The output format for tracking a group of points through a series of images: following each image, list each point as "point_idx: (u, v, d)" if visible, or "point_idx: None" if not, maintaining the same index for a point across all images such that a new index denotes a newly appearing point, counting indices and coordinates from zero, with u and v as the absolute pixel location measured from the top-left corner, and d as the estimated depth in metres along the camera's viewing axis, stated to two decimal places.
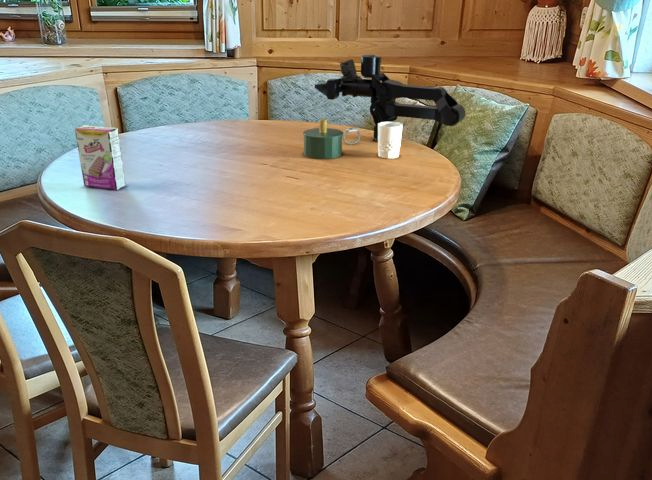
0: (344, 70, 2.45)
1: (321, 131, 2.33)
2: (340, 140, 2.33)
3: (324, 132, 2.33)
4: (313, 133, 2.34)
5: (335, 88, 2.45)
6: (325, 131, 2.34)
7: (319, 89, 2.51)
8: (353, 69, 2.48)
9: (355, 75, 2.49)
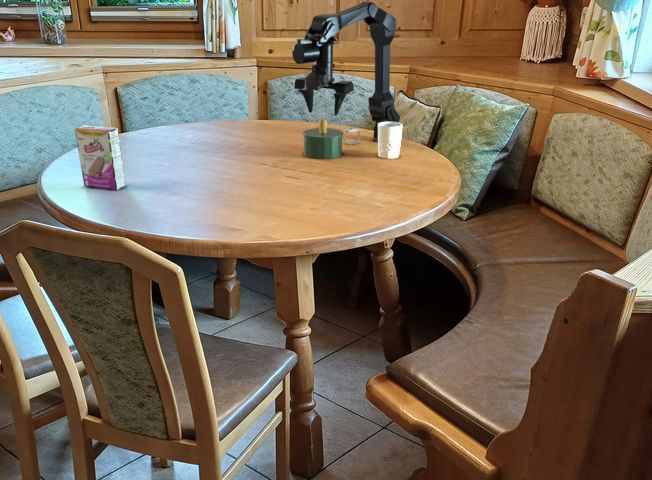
0: (326, 79, 2.20)
1: (321, 131, 2.33)
2: (340, 140, 2.33)
3: (324, 132, 2.33)
4: (313, 133, 2.34)
5: (346, 82, 2.22)
6: (325, 131, 2.34)
7: (339, 107, 2.29)
8: (313, 74, 2.21)
9: (315, 71, 2.22)
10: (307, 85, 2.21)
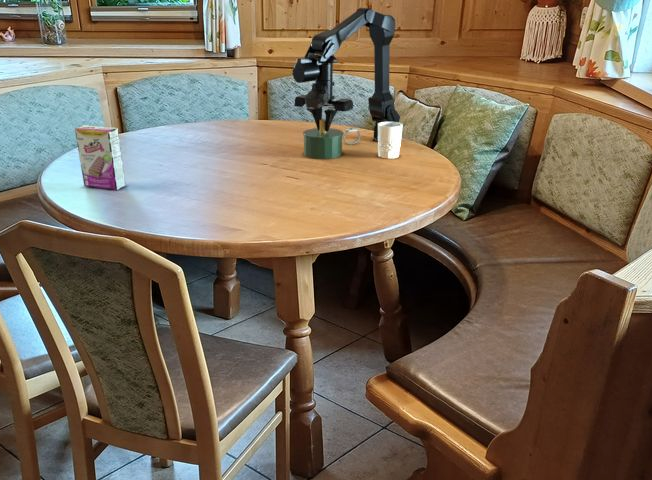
0: (326, 98, 2.22)
1: (321, 131, 2.33)
2: (340, 140, 2.33)
3: (324, 132, 2.33)
4: (313, 133, 2.34)
5: (346, 100, 2.25)
6: (325, 131, 2.34)
7: (330, 123, 2.33)
8: (313, 93, 2.24)
9: (315, 89, 2.25)
10: (307, 103, 2.24)
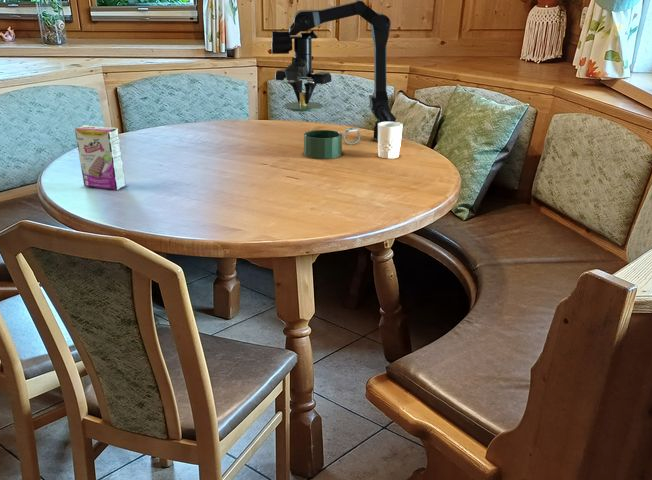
0: (305, 71, 2.34)
1: (301, 104, 2.44)
2: (340, 140, 2.33)
3: (304, 105, 2.45)
4: (294, 106, 2.45)
5: (324, 73, 2.36)
6: (305, 104, 2.45)
7: (310, 96, 2.44)
8: (293, 66, 2.35)
9: (295, 63, 2.36)
10: (287, 76, 2.35)
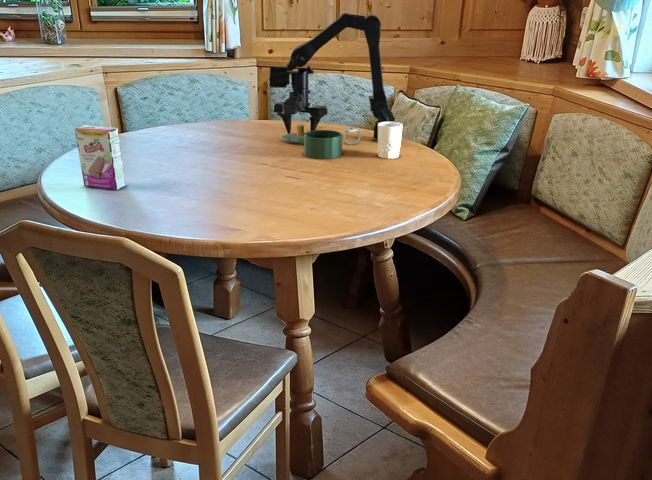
0: (302, 105, 2.42)
1: (299, 136, 2.53)
2: (340, 140, 2.33)
3: (301, 137, 2.53)
4: (291, 138, 2.53)
5: (320, 107, 2.44)
6: (302, 136, 2.53)
7: (315, 129, 2.51)
8: (290, 100, 2.43)
9: (292, 97, 2.44)
10: (285, 110, 2.43)
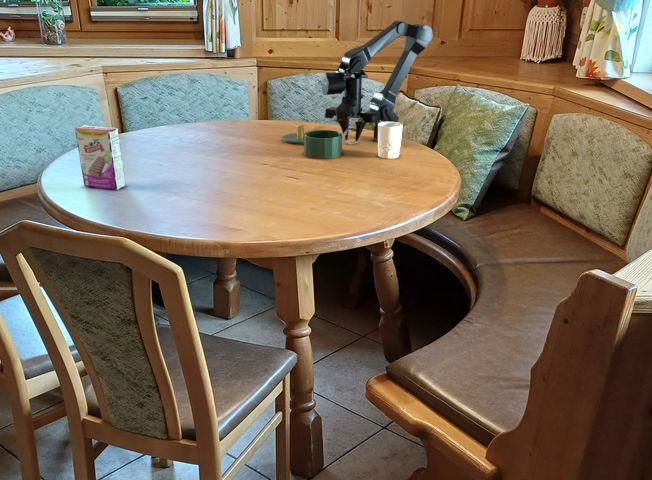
0: (356, 110, 2.37)
1: (299, 136, 2.53)
2: (340, 140, 2.33)
3: (301, 137, 2.53)
4: (291, 138, 2.53)
5: (374, 113, 2.40)
6: (302, 136, 2.53)
7: (360, 134, 2.47)
8: (343, 105, 2.39)
9: (345, 102, 2.40)
10: (338, 115, 2.39)
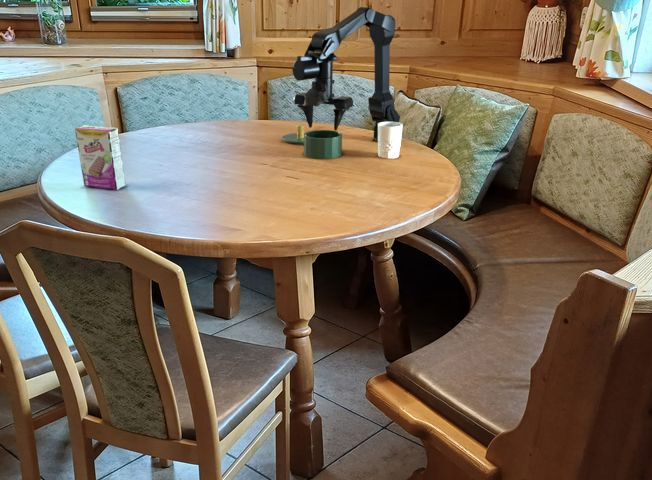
0: (326, 96, 2.22)
1: (299, 136, 2.53)
2: (340, 140, 2.33)
3: (301, 137, 2.53)
4: (291, 138, 2.53)
5: (346, 98, 2.25)
6: (302, 136, 2.53)
7: (339, 122, 2.31)
8: (313, 91, 2.24)
9: (315, 87, 2.25)
10: (307, 101, 2.24)
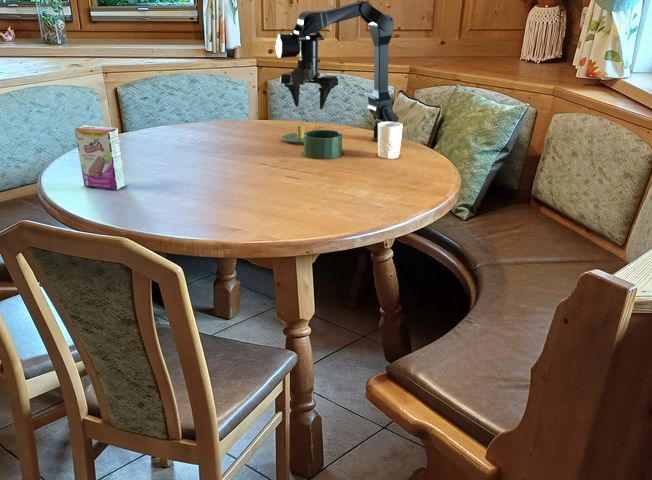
0: (311, 74, 2.26)
1: (299, 136, 2.53)
2: (340, 140, 2.33)
3: (301, 137, 2.53)
4: (291, 138, 2.53)
5: (331, 77, 2.29)
6: (302, 136, 2.53)
7: (324, 101, 2.35)
8: (298, 69, 2.28)
9: (301, 66, 2.29)
10: (293, 79, 2.28)
